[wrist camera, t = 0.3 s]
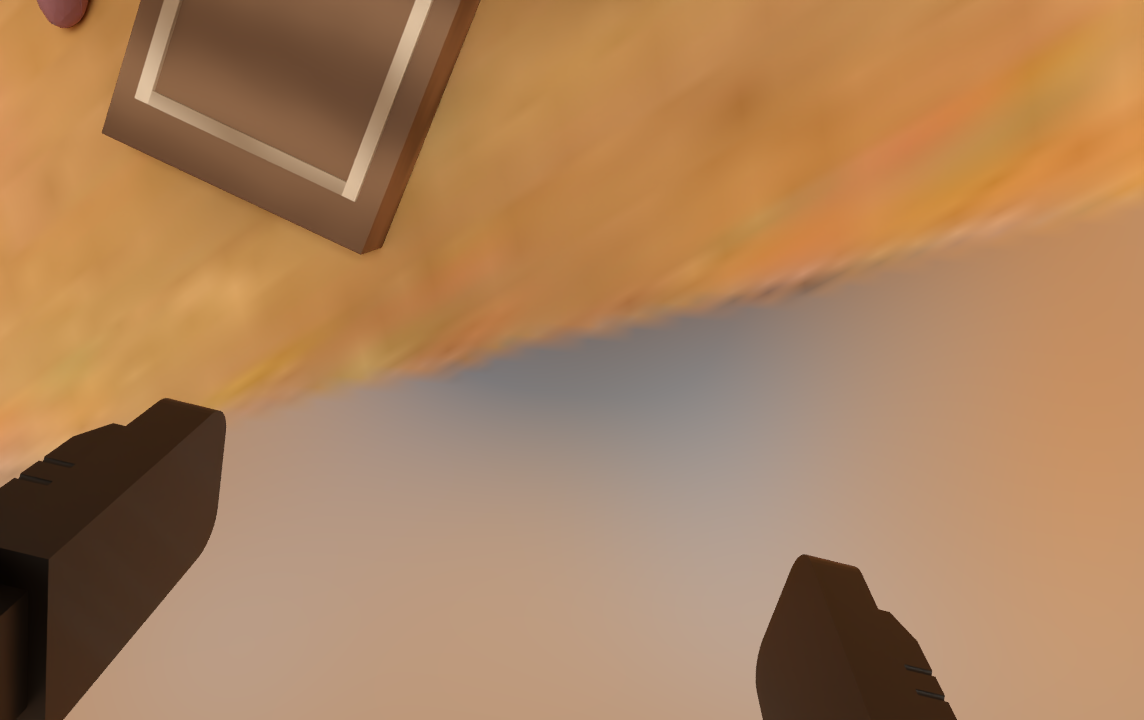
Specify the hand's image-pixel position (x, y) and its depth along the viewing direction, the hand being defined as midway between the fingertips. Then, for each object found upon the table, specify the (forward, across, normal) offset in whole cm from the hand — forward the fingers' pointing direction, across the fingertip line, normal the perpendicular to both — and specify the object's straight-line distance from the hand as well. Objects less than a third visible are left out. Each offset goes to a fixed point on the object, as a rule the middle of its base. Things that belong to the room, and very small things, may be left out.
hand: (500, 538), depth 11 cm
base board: (+29, +13, -3) cm, 32 cm away
